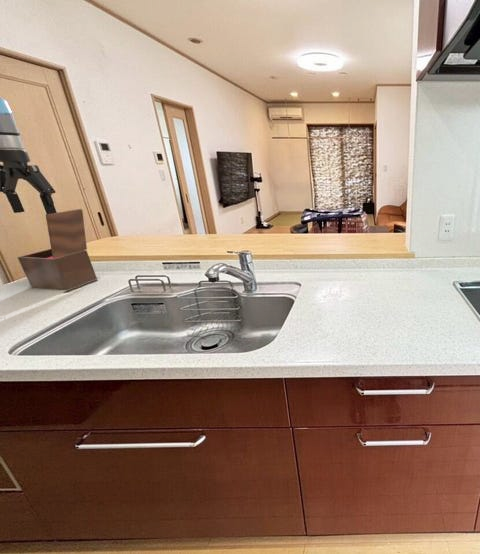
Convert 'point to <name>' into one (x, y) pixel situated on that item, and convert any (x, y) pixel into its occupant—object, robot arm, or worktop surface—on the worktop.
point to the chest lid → (66, 232)
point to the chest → (58, 270)
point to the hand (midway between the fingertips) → (35, 213)
